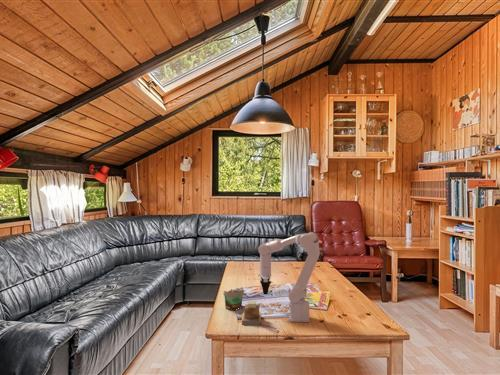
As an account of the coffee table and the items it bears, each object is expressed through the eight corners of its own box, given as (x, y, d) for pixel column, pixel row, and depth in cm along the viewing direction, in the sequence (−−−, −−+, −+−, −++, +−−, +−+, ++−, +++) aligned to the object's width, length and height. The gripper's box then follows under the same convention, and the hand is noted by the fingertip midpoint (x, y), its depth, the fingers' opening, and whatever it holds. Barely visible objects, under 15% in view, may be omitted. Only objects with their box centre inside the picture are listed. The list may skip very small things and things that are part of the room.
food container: (229, 313, 170) (229, 294, 170) (223, 309, 175) (223, 290, 175) (248, 307, 178) (248, 289, 178) (242, 304, 183) (242, 286, 183)
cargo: (256, 305, 163) (256, 301, 163) (256, 308, 159) (256, 303, 159) (248, 305, 163) (248, 301, 163) (247, 307, 159) (247, 303, 159)
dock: (260, 316, 166) (260, 312, 166) (260, 325, 156) (260, 320, 156) (243, 316, 166) (243, 312, 166) (241, 324, 156) (241, 320, 156)
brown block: (259, 314, 164) (259, 304, 163) (259, 318, 159) (259, 308, 158) (245, 314, 164) (245, 304, 164) (244, 318, 159) (244, 308, 159)
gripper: (258, 262, 180) (258, 287, 180) (257, 269, 165) (257, 296, 166) (270, 262, 180) (270, 287, 180) (271, 269, 165) (271, 296, 165)
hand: (265, 291), depth 173 cm, fingers open, 7 cm apart
